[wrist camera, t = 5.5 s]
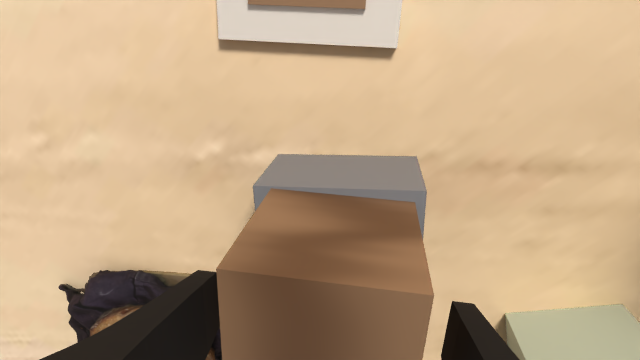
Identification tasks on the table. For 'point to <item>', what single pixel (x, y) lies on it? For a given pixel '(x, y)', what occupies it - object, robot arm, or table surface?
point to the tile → (311, 21)
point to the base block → (347, 178)
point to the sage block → (574, 334)
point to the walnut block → (326, 281)
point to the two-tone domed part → (120, 300)
